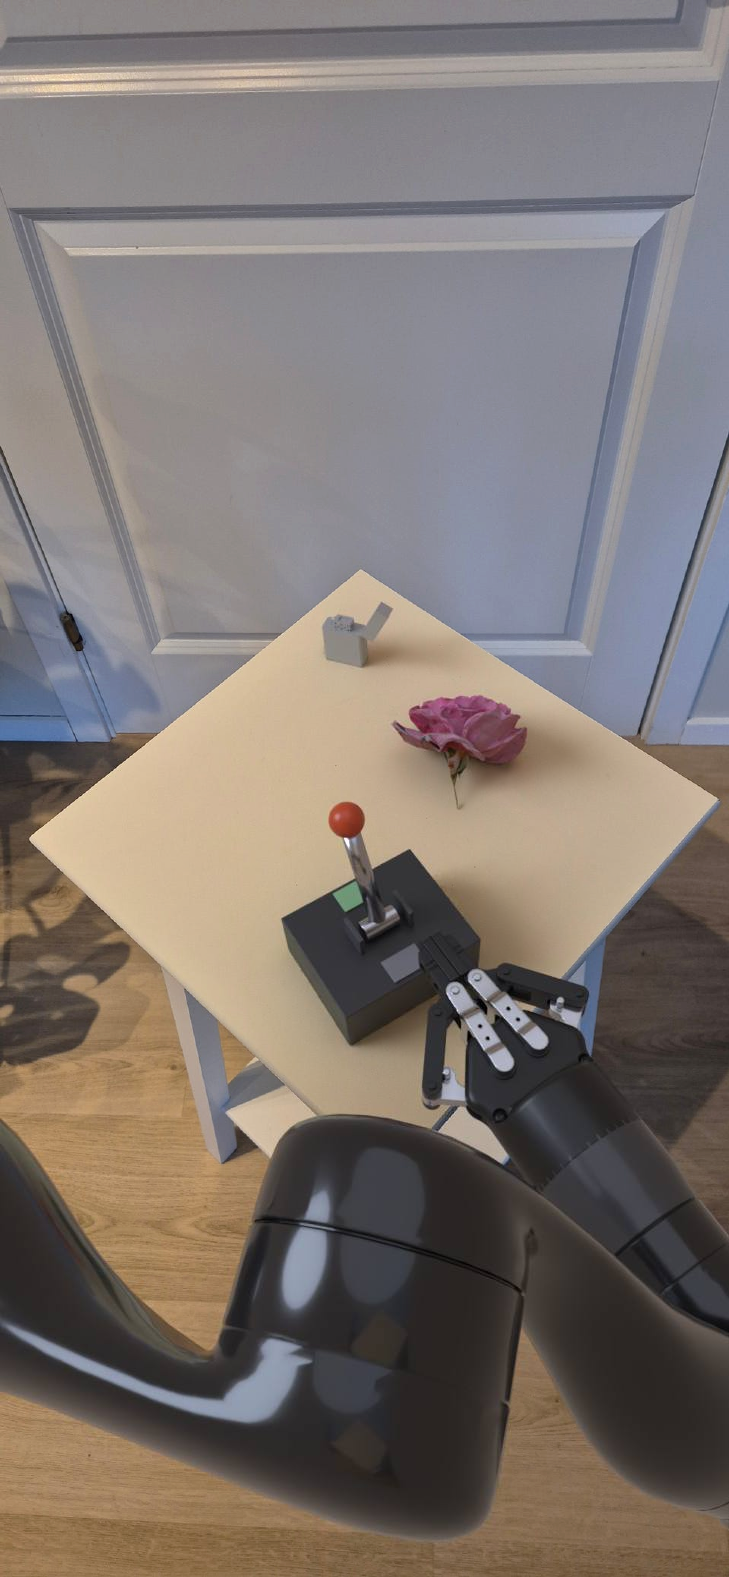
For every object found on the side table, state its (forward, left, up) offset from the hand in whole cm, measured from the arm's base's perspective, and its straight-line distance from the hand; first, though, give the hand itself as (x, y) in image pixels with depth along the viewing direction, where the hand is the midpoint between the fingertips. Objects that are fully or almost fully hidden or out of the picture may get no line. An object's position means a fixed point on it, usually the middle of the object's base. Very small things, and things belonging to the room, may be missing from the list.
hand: (428, 942), depth 67 cm
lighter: (+16, +37, -13) cm, 42 cm away
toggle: (0, +6, -8) cm, 10 cm away
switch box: (0, +7, -13) cm, 15 cm away
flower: (+17, +21, -13) cm, 30 cm away
